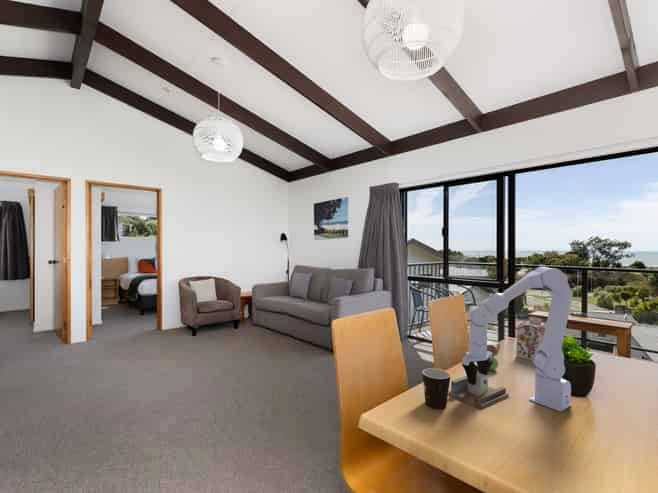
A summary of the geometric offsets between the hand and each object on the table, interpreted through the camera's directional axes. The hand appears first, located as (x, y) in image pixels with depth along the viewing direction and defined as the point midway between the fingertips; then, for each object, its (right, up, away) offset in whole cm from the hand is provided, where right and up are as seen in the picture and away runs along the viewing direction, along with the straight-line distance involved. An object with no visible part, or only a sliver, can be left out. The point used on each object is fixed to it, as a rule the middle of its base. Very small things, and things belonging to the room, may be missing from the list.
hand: (477, 382), depth 116 cm
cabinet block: (0, -3, 0) cm, 3 cm away
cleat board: (0, -4, 0) cm, 4 cm away
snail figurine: (+16, -5, +24) cm, 29 cm away
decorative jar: (+43, -5, +39) cm, 59 cm away
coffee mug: (-17, -5, -9) cm, 20 cm away
